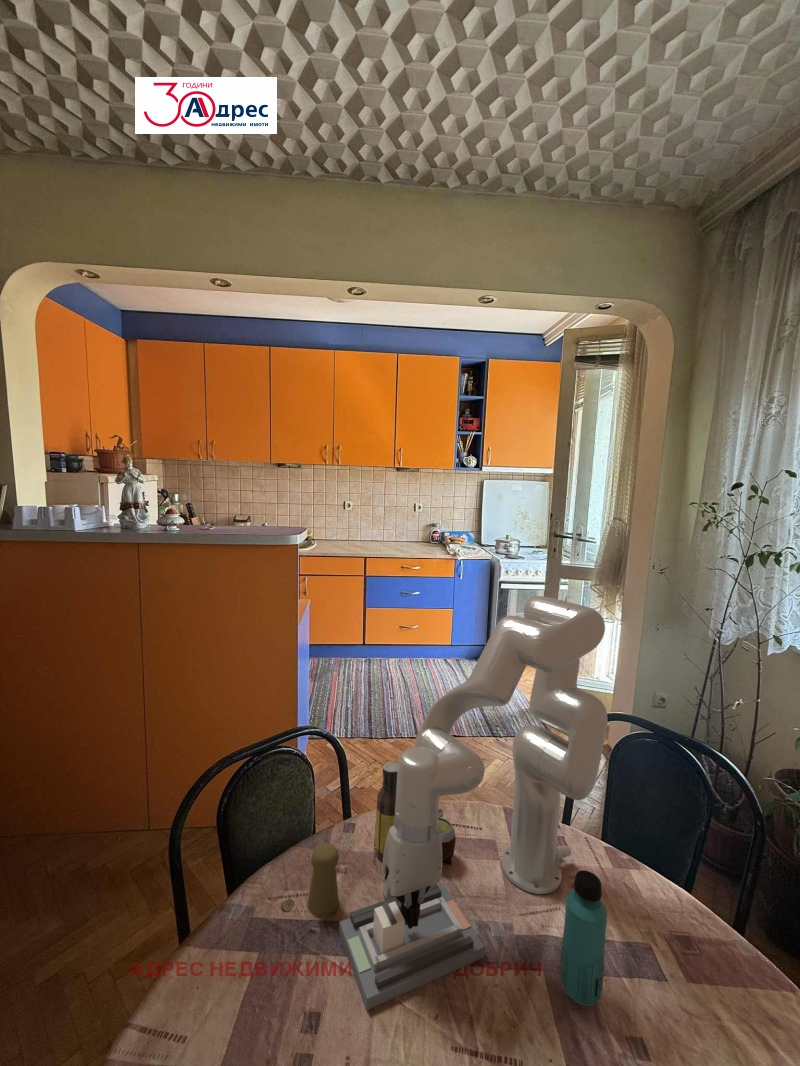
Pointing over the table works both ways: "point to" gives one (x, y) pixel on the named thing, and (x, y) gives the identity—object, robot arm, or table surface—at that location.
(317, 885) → the olive brown pawn
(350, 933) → the panel
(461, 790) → the robot arm
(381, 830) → the sauce bottle
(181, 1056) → the table surface
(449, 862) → the mate gourd
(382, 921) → the toggle
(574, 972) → the beverage bottle
